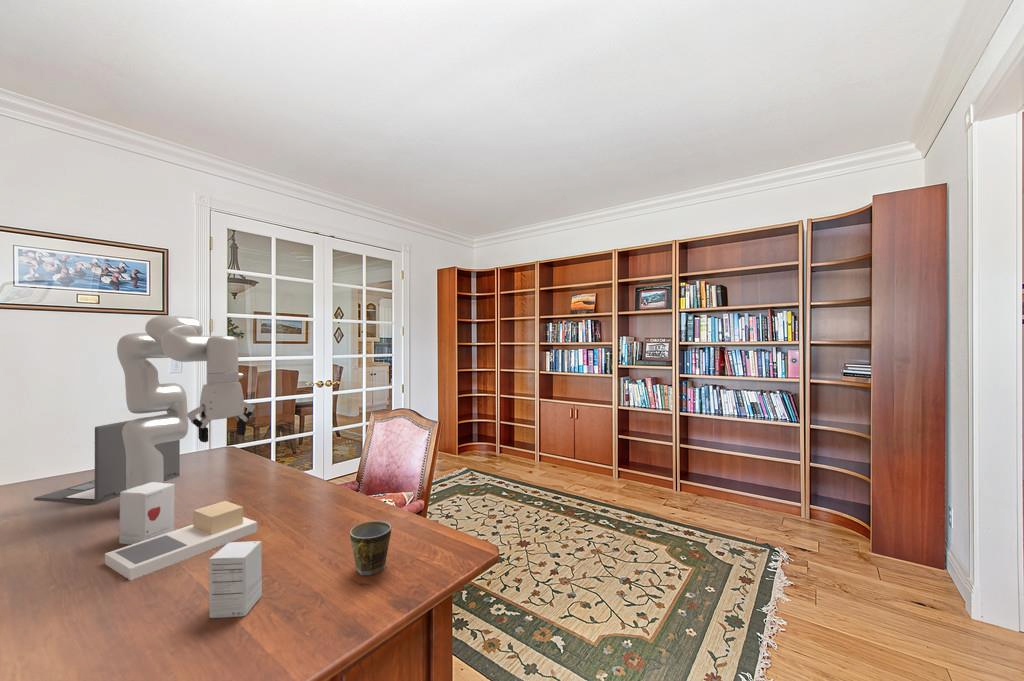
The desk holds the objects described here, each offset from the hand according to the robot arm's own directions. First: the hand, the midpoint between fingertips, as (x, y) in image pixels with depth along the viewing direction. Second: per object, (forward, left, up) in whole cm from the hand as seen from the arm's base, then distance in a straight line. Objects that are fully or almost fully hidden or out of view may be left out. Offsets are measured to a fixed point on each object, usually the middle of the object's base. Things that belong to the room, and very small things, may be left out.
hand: (223, 438), depth 122 cm
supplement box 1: (-21, -10, -30) cm, 38 cm away
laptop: (-83, +2, -30) cm, 89 cm away
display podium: (-5, -7, -30) cm, 31 cm away
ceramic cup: (+49, +9, -30) cm, 58 cm away
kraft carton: (-5, +1, -27) cm, 27 cm away
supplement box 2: (+35, -15, -30) cm, 49 cm away
